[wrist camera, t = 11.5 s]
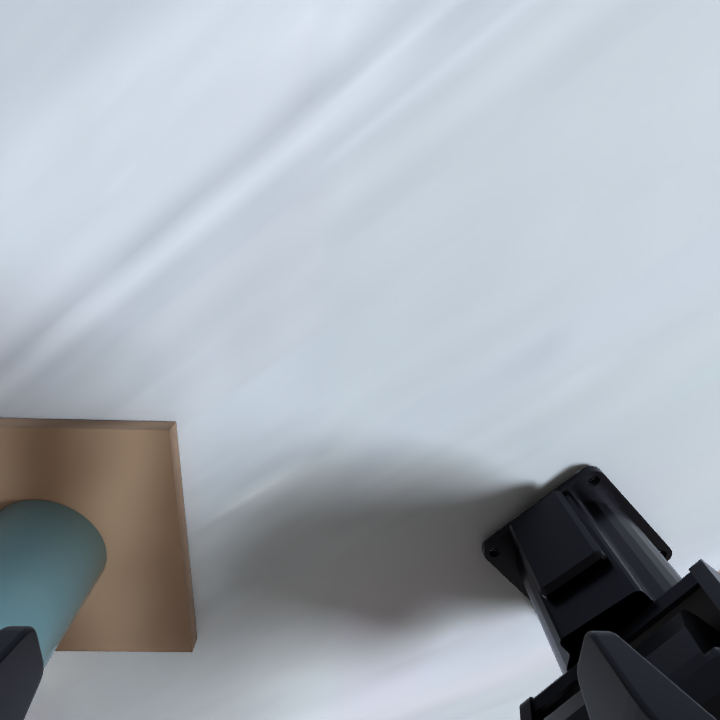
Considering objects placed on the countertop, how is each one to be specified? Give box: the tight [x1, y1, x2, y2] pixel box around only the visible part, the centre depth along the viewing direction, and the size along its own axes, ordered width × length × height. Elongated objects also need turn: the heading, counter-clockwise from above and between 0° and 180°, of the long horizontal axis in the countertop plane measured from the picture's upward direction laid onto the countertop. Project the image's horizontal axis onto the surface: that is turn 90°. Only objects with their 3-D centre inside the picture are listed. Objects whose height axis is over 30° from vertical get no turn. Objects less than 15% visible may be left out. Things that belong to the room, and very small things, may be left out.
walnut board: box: [0, 418, 197, 652], centre depth 23 cm, size 12×12×1 cm
